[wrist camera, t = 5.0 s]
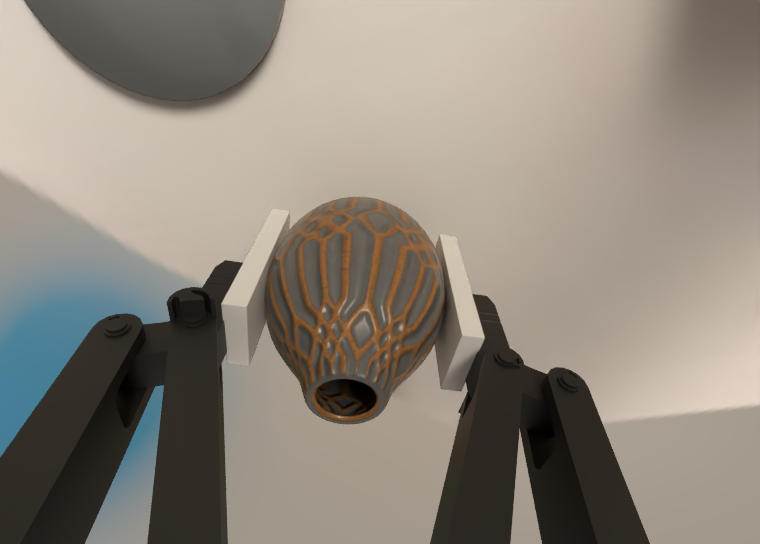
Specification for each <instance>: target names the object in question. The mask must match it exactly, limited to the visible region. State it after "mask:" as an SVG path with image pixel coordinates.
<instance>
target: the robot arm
mask: <svg viewBox="0 0 760 544" xmlns="http://www.w3.org/2000/svg"><path fill="white" fill-rule="evenodd" d="M289 220H290V211H286V210H279V209H272V211H271V212H270V214H269V216H268V218H267V220H266V222H265V224H264V225H263V227H262V229H261V231H260V233H259V235H258V237H257V238H256V240H255V242H254V244H253V246H252V248H251V250H250V251H249V253H248V255H247V257H246V259H245V261H244V263H240V262H233V261H226V260H225V261H224V262H222V263H221V264H219V265H218V266H216V267H215V268H214V270H213V272H212V273H211V275H210V277H209V278H208V279H207V281H206V283H205V284H204V286H203V287H202V288H198V287H191V288H185V289H181V290H179V291H177V292H175V293H174V294H173V295H171V296H170V297H169V299H168V301H167V306H168V311H169V316H170V321H168V322H163V323H154V324H144V325H143V324H142V322H141V319H140V318H138V317H137V316H135V315H131V314H116V315H113V316H109V317H106V318H105V319H102V320H101V321H99V322H98V323H97V324H96V325H95V326H94V327H93V328H92V329H91V330H90V332H89V333H88V335H87V336H86V338H85V339H84V340H83V342H82V343H81V345H80V346H79V347H78V349H77V350H76V352H75V353H74V354H73V356H72V357H71V359H70V360H69V362H68V363H67V364H66V366H65V367H64V369H63V370H62V371H61V373H60V374H59V376H58V377H57V378H56V380H55V381H54V383H53V384H52V385H51V387H50V388H49V390H48V391H47V392H46V394H45V395H44V397H43V398H42V399H41V401H40V402H39V404H38V405H37V407H36V408H35V409H34V411H33V412H32V414H31V415H30V416H29V418H28V419H27V421H26V422H25V423H24V425H23V426H22V428H21V429H20V431H19V432H18V434H17V435H16V437H15V438H14V439H13V441H12V442H11V443H10V445H9V446H8V447H7V449H6V450H5V452H4V453H3V455H2V456H1V457H0V544H85V541H86V539H87V537H88V535H89V533H90V530H91V528H92V526H93V524H94V522H95V519H96V517H97V515H98V513H99V510H100V508H101V506H102V504H103V501H104V499H105V497H106V495H107V493H108V490H109V488H110V486H111V484H112V481H113V479H114V477H115V475H116V473H117V470H118V468H119V466H120V463H121V461H122V459H123V457H124V455H125V452H126V450H127V448H128V446H129V444H130V441H131V439H132V437H133V435H134V432H135V430H136V428H137V425H138V423H139V421H140V419H141V417H142V414H143V412H144V410H145V408H146V406H147V403H148V401H149V399H150V397H151V394H152V392H153V390H154V388H155V386H160V385H164V392H163V401H162V411H161V420H160V430H159V439H158V448H157V458H156V467H155V477H154V486H153V496H152V505H151V515H150V524H149V534H148V544H228V538H227V508H226V476H225V445H224V413H223V386H222V385H223V382H222V365H221V363H222V361H223V359H224V356H225V355H226V358H227V364H235V365H244V366H249V365H250V363H251V360H252V357H253V354H254V352H255V349H256V346H257V344H258V341H259V338H260V336H261V333H262V330H263V327H264V325H265V322H266V320H267V318H266V310H265V290H266V282H267V276H268V272H269V268H270V266H271V263H272V260H273V258H274V255H275V253H276V251H277V249H278V247H279V245H280V244H281V242H282V240H283V239H284V237H285V236H286V234H287V233H288V232H289ZM435 249H436V252H437V255H438V257H439V260H440V263H441V267H442V271H443V276H444V282H445V308H444V315H443V319H442V323H441V327H440V330H439V333H438V336H437V339H436V341H435V350H436V357H437V364H438V371H439V379H440V386H441V389H446V390H455V391H462V388H463V386H464V384H465V382H466V385H467V389H468V392H467V395H466V397H465V399H464V401H463V403H462V405H461V408H460V410H459V412H458V413H461V415H460V419H459V424H458V428H457V432H456V436H455V441H454V445H453V449H452V453H451V458H450V462H449V466H448V471H447V474H446V479H445V483H444V487H443V491H442V496H441V500H440V504H439V509H438V513H437V517H436V521H435V525H434V530H433V534H432V539H431V542H430V544H510V539H511V527H512V515H513V502H514V489H515V477H516V464H517V451H518V440H519V428H520V432H521V437H522V442H523V447H524V453H525V457H526V463H527V468H528V473H529V478H530V483H531V488H532V494H533V498H534V504H535V509H536V514H537V519H538V524H539V530H540V535H541V540H542V544H650V543H649V540H648V538H647V535H646V533H645V530H644V528H643V525H642V523H641V520H640V518H639V515H638V512H637V510H636V508H635V505H634V502H633V500H632V497H631V495H630V492H629V490H628V487H627V485H626V482H625V480H624V477H623V475H622V472H621V469H620V467H619V464H618V462H617V460H616V457H615V454H614V452H613V449H612V447H611V444H610V442H609V439H608V437H607V434H606V432H605V429H604V426H603V424H602V421H601V419H600V416H599V414H598V411H597V409H596V406H595V404H594V401H593V399H592V396H591V394H590V391H589V388H588V386H587V385H586V383H585V381H584V380H583V379H582V378H581V377H580V376H579V375H577V374H576V373H574V372H572V371H571V370H568V369H565V368H559V367H556V368H553V369H551V370H550V371H549V373H548V374H545V373H542V372H540V371H537V370H535V369H532V368H530V367H528V366H526V365H524V362H523V360H522V358H521V357H520V355H519V354H517V353H516V352H515V351H514V350H512V349H510V347H509V345H508V342H507V339H506V336H505V333H504V330H503V327H502V325H501V323H500V319H499V316H498V313H497V310H496V307H495V305H494V304H493V303H492V301H491V300H490V299H489V298H488V297H487V296H482V295H475V294H472V292H471V288H470V285H469V281H468V278H467V274H466V271H465V267H464V264H463V260H462V257H461V253H460V250H459V246H458V243H457V239H456V236H450V235H444V234H439V238H438V241H437V245H436V248H435Z"/></svg>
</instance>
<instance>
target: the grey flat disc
mask: <svg viewBox="0 0 760 544" xmlns="http://www.w3.org/2000/svg"><path fill="white" fill-rule="evenodd" d="M24 1H25V2H26V4H27V5H28V7H29V8H30V9H31V11H32V12H33V13H34V14H35V16H36V17H37V18H38V19H39V21H40V22H41V23H42V24H43V26H44V27H45V28H46V29H47V30H48V31H49V32H50V33H51V34H52V35H53V36H54V37H55V38H56V40H57V41H58V42H59V43H60V44H61V45H63V46H64V47H65V48H66V49H67V50H68V51H69V52H70V53H71V54H73V55H74V56H75V57H76V58H77V59H78V60H80V61H81V62H82V63H84V64H85V65H86V66H88V67H89V68H90V69H92V70H93V71H95V72H96V73H98V74H100V75H101V76H103V77H104V78H106V79H108V80H109V81H111V82H113V83H115V84H117V85H119V86H121V87H123V88H126V89H128V90H131V91H133V92H136V93H139V94H142V95H145V96H149V97H153V98H158V99H164V100H173V101H185V100H196V99H201V98H207V97H209V96H212V95H215V94H218V93H221V92H222V91H224V90H226V89H228V88H230V87H232V86H233V85H235V84H237V83H239V82H240V81H241V80H242V79H244V78H245V77H246V76H247V75H249V74H250V73H251V72H252V71H253V70H254V69H255V67H256V66H257V65H258V64H259V63H260V62H261V60H262V59H263V57H264V56H265V54H266V53H267V51H268V50H269V48H270V46H271V44H272V42H273V40H274V38H275V36H276V34H277V30H278V27H279V24H280V21H281V18H282V14H283V9H284V4H285V0H24Z"/></svg>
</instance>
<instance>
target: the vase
mask: <svg viewBox="0 0 760 544" xmlns="http://www.w3.org/2000/svg"><path fill="white" fill-rule="evenodd" d="M444 308H445V282H444V276H443V271H442V267H441V263H440V260H439V257H438V255H437V252H436V249H435V247H434V245H433V243H432V242H431V240H430V238H429V237H428V235H427V234H426V232H425V231H424V230H423V229H422V227H421V226H420V225H419V224H418V223H417V222H416V221H415V220H414V219H413V218H412V217H411V216H409V215H408V214H407V213H406V212H404V211H403V210H401V209H399V208H398V207H396V206H394V205H392V204H389V203H387V202H384V201H381V200H378V199H373V198H367V197H348V198H342V199H337V200H333V201H330V202H328V203H325V204H323V205H321V206H319V207H317V208H315V209H314V210H312V211H310V212H309V213H307V214H306V215H305V216H303V217H302V218H301V219H300V220H299V221H298V222H297V223H296V224H295V225H294V226H293V227H292V228H291V229H290V230H289V232H288V233H287V234H286V236H285V237H284V239H283V240H282V242H281V244H280V245H279V247H278V249H277V251H276V253H275V255H274V258H273V260H272V263H271V266H270V268H269V272H268V276H267V282H266V290H265V310H266V318H267V324H268V328H269V332H270V335H271V338H272V341H273V343H274V345H275V347H276V349H277V351H278V352H279V354H280V356H281V357H282V358H283V360H284V361H285V363H286V364H287V366H288V367H289V368H290V370H291V371H292V372H293V374H294V375H295V376H296V377H297V379H298V380H299V382H300V385H301V388H302V392H303V395H304V399H305V402H306V403H307V406H308V407H309V409H310V410H311V411H312V412H313V413H314V414H316V415H317V416H319V417H321V418H322V419H325V420H327V421H331V422H334V423H339V424H358V423H363V422H366V421H369V420H371V419H373V418H375V417H377V416H378V415H379V414H380V413H381V412H382V411H383V410H384V408H385V407H386V405H387V403H388V401H389V399H390V397H391V395H392V393H393V392H394V390H395V389H396V388H397V387H398V386H399V385H400V384H401V383H402V382H404V381H405V380H406V379H407V378H408V377H409V376H410V375H411V374H412V373H413V372H414V371H415V370H416V369H417V368H418V367H419V366H420V365H421V364H422V362H423V361H424V360H425V358H426V357H427V356H428V354H429V353H430V351H431V349H432V347H433V345H434V343H435V341H436V339H437V336H438V333H439V330H440V327H441V323H442V319H443V315H444Z"/></svg>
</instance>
